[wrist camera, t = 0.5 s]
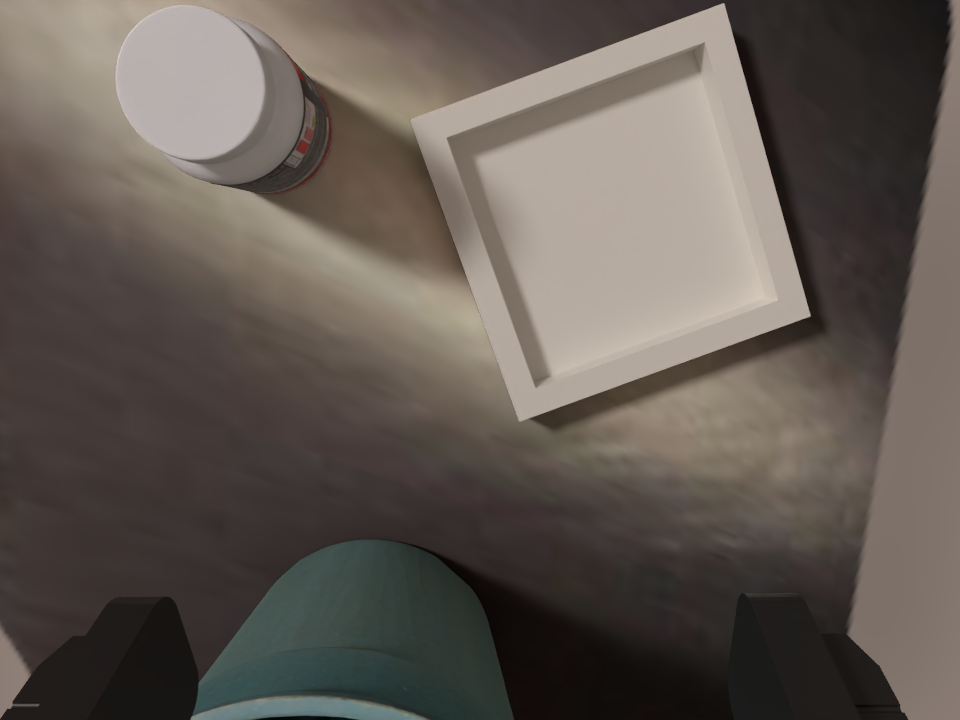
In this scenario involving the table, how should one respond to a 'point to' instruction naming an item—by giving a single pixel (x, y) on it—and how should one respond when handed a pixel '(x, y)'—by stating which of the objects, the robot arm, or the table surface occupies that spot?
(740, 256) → the tray
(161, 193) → the table surface
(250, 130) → the pill bottle
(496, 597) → the table surface
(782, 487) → the table surface
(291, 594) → the flower pot
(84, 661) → the robot arm
